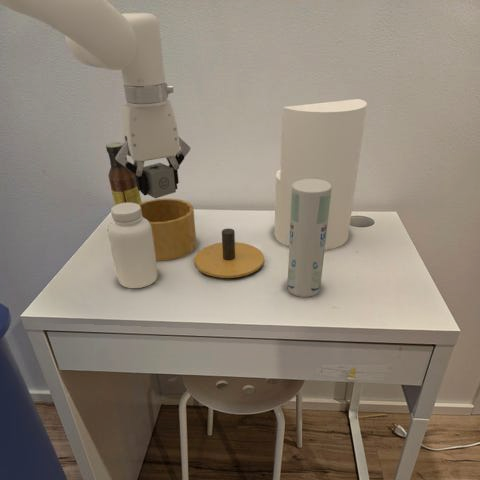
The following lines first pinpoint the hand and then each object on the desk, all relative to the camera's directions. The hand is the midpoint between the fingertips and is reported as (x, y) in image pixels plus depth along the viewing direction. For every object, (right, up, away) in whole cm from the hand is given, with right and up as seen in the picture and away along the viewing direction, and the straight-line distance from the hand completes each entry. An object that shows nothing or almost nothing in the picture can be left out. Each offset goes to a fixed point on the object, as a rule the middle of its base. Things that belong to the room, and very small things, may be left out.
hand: (158, 189), depth 91 cm
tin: (0, -10, +8) cm, 13 cm away
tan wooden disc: (+15, -15, +1) cm, 21 cm away
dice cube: (0, -1, 0) cm, 1 cm away
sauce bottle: (-9, -5, +16) cm, 19 cm away
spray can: (+29, -21, -7) cm, 37 cm away
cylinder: (+34, -7, +12) cm, 36 cm away
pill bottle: (-3, -19, -4) cm, 20 cm away
